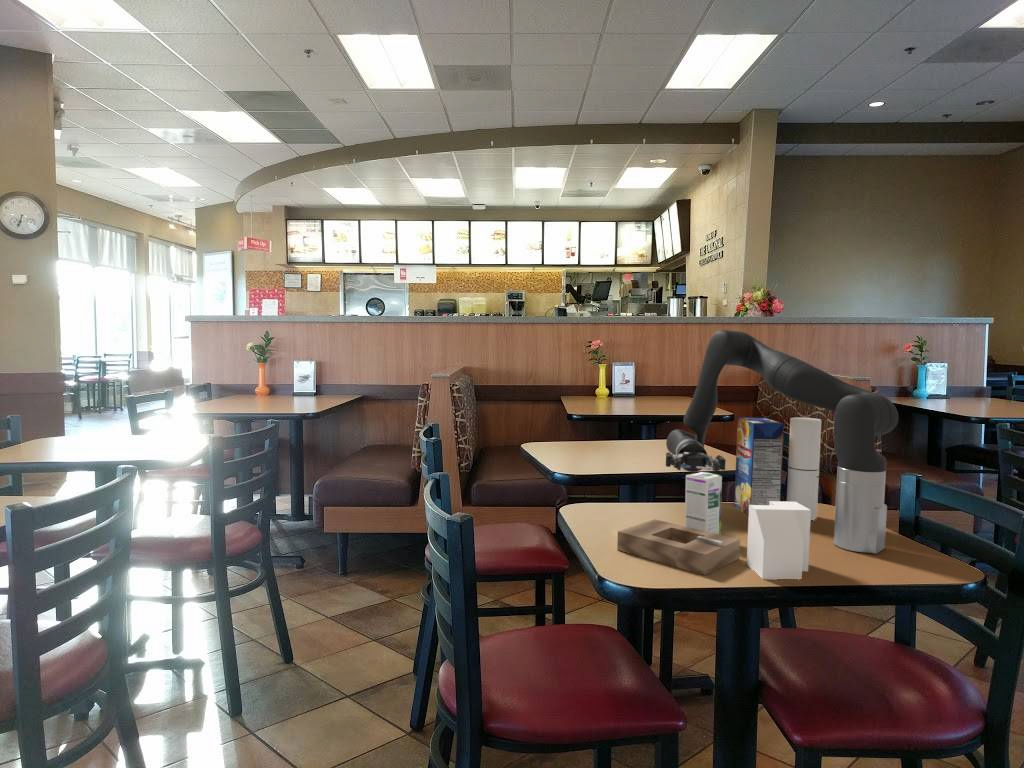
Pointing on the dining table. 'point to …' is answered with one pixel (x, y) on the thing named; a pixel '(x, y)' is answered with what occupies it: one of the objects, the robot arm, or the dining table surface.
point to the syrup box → (703, 502)
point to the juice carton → (758, 462)
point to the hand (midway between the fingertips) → (697, 466)
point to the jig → (679, 546)
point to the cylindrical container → (804, 462)
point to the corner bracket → (778, 539)
